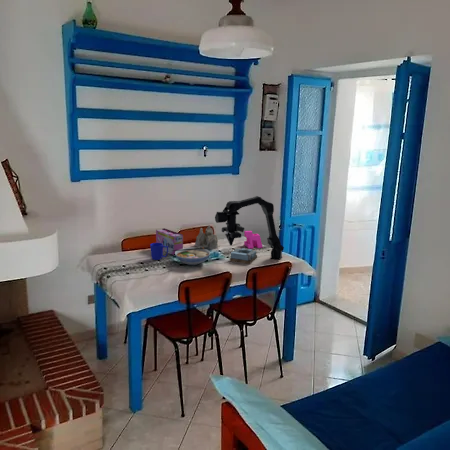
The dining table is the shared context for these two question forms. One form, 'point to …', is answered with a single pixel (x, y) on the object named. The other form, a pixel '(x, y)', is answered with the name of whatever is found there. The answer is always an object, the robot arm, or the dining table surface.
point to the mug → (157, 251)
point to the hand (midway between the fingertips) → (231, 245)
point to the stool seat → (246, 251)
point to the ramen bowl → (192, 255)
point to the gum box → (169, 240)
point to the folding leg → (241, 256)
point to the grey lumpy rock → (206, 239)
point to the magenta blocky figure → (252, 240)
